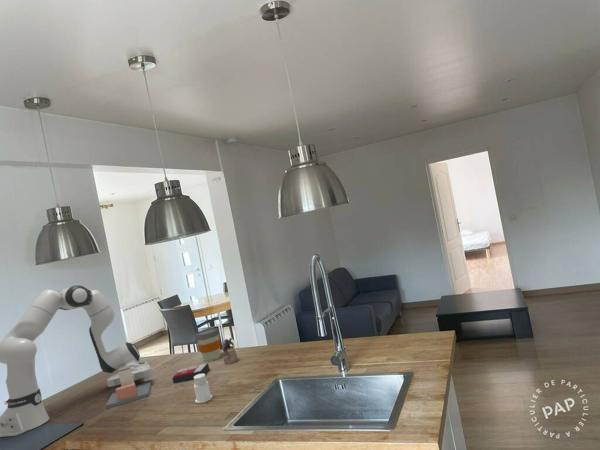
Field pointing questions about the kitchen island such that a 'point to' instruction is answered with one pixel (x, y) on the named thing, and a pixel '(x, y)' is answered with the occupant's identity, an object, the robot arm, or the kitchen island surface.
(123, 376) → the beige rectangular block
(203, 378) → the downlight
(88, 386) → the kitchen island surface
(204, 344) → the reusable coffee cup
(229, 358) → the figurine
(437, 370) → the kitchen island surface
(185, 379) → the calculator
